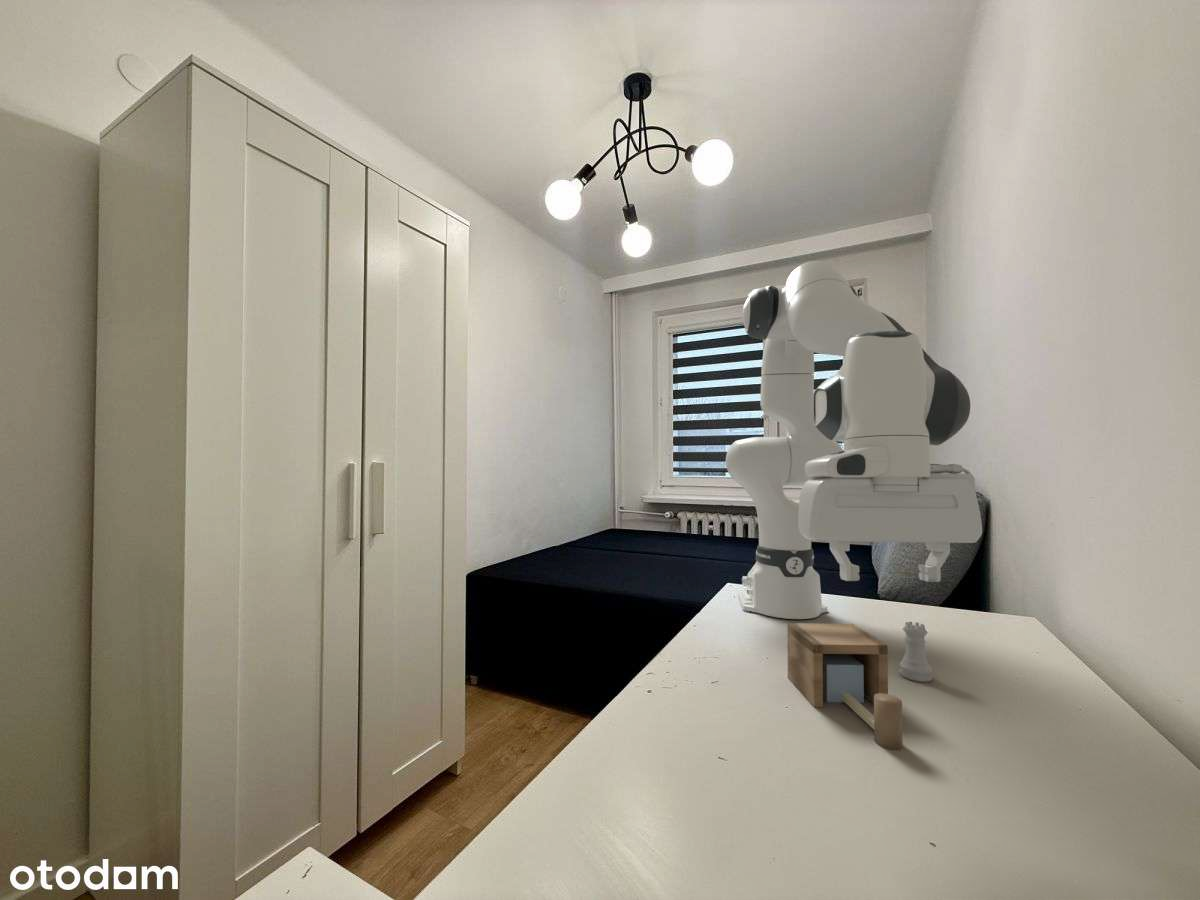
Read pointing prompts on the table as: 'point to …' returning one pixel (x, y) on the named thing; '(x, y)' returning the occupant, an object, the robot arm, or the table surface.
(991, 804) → the table surface
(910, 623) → the rook chess piece
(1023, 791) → the table surface
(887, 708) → the block with stick handle
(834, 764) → the table surface
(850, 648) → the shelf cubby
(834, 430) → the robot arm
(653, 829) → the table surface
